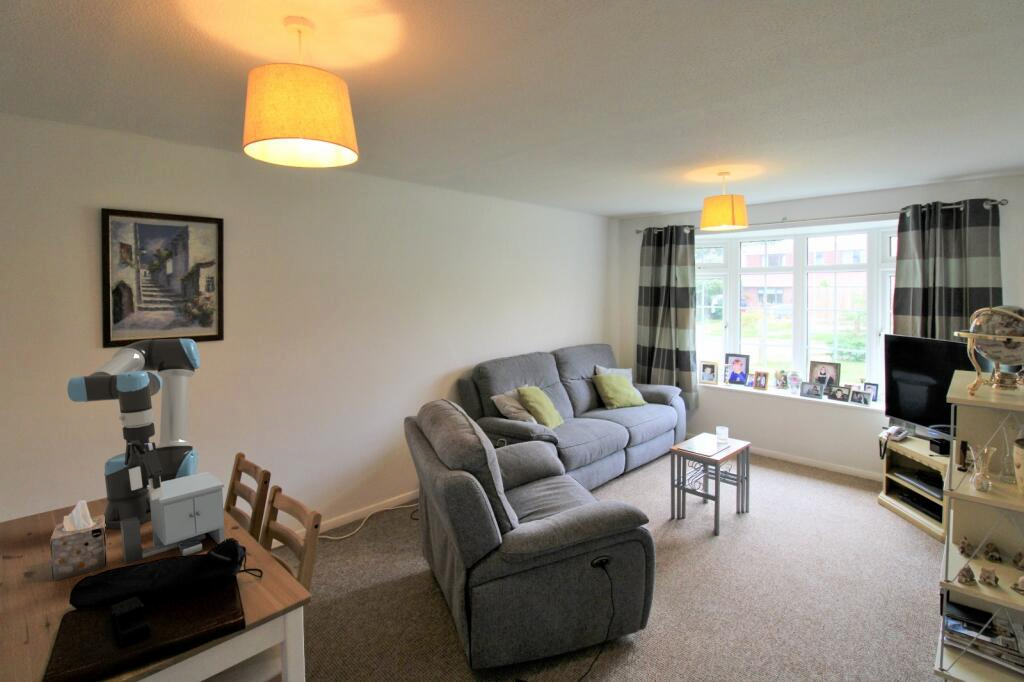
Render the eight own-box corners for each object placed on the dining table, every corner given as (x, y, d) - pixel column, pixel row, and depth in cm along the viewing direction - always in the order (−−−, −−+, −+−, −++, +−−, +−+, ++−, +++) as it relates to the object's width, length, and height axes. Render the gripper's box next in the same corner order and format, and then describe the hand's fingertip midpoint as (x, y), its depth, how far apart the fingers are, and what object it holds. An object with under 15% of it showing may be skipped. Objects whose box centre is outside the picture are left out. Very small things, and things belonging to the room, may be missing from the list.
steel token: (179, 550, 158) (178, 543, 158) (197, 545, 162) (197, 537, 161) (183, 557, 155) (183, 549, 154) (202, 550, 158) (201, 543, 158)
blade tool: (123, 559, 153) (120, 520, 151) (202, 534, 168) (199, 499, 166) (126, 564, 150) (122, 525, 149) (206, 538, 165) (203, 503, 164)
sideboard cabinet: (151, 546, 160) (146, 485, 158) (211, 528, 172) (207, 471, 170) (165, 567, 148) (160, 501, 146) (228, 545, 161) (224, 484, 158)
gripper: (106, 421, 153) (114, 489, 155) (141, 433, 139) (150, 507, 141) (135, 415, 159) (143, 480, 161) (172, 426, 145) (180, 497, 148)
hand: (146, 493), depth 151 cm, fingers open, 13 cm apart
